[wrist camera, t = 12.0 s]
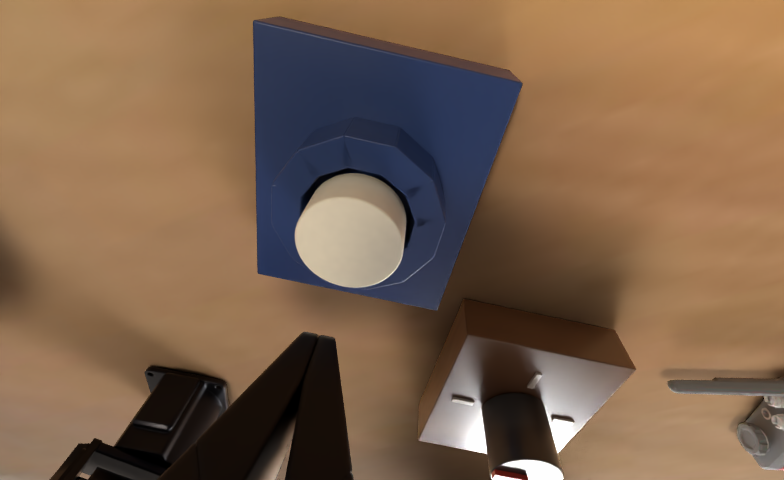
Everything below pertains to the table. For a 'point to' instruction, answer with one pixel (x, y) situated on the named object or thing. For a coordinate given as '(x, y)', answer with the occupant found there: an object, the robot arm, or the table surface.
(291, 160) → the button housing
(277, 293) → the table surface
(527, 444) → the dial
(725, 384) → the walkie-talkie
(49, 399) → the table surface
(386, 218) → the cap
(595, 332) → the dial panel
